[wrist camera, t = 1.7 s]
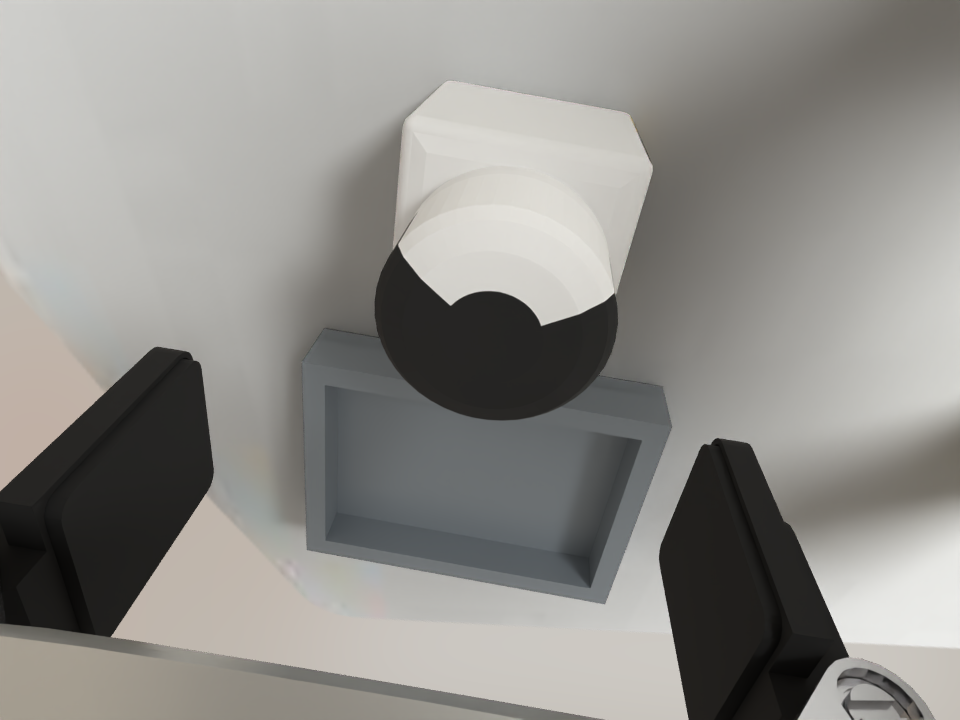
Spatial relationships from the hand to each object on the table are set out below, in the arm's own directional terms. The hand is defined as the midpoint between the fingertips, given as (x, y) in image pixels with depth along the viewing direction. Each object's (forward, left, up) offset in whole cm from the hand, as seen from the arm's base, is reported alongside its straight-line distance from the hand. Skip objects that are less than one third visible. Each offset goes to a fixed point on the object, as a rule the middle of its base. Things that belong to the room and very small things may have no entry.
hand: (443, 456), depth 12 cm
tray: (0, +14, -16) cm, 21 cm away
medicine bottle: (0, 0, -16) cm, 16 cm away
